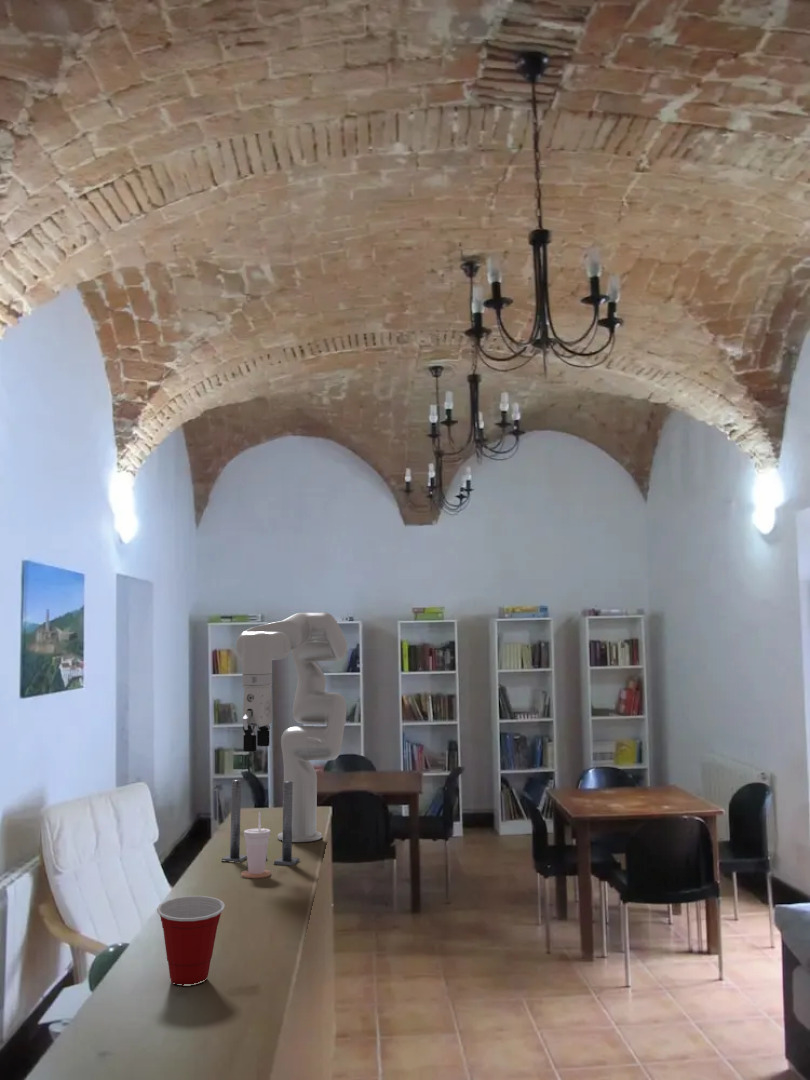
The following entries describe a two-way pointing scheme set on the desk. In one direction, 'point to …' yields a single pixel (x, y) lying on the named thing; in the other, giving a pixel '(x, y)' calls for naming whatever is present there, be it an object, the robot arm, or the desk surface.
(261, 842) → the smoothie
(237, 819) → the post
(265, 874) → the coaster
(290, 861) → the post
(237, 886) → the desk surface
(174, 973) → the plastic cup
